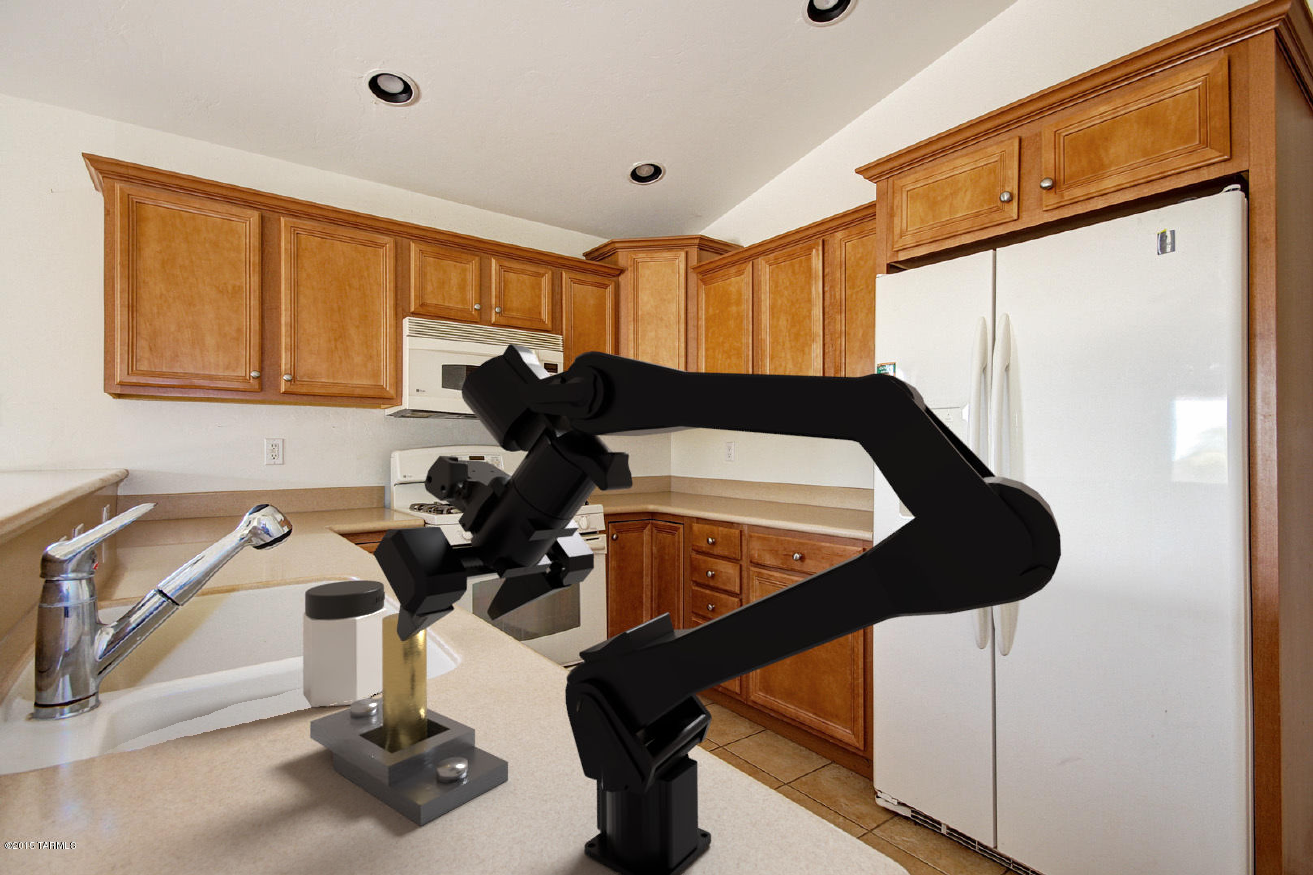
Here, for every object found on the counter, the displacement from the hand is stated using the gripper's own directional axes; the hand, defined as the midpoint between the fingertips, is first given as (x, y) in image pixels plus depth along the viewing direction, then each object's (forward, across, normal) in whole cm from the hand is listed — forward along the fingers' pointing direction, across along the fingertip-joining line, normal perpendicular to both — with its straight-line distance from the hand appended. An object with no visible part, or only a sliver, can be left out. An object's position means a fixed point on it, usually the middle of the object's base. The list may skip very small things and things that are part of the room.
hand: (449, 625), depth 53 cm
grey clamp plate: (+13, 0, +5) cm, 14 cm away
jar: (+26, -6, -10) cm, 29 cm away
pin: (+13, 0, +5) cm, 14 cm away
